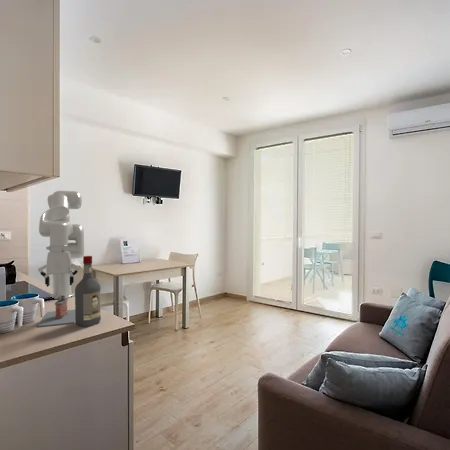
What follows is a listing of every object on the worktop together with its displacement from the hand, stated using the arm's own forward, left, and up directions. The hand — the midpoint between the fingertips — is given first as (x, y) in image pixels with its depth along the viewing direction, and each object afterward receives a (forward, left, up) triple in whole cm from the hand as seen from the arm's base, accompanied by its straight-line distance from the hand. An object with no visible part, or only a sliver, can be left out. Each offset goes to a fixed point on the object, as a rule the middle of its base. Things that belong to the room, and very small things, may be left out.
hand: (59, 285), depth 147 cm
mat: (+1, 0, -15) cm, 15 cm away
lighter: (0, +1, -15) cm, 15 cm away
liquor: (+12, +13, -16) cm, 23 cm away
